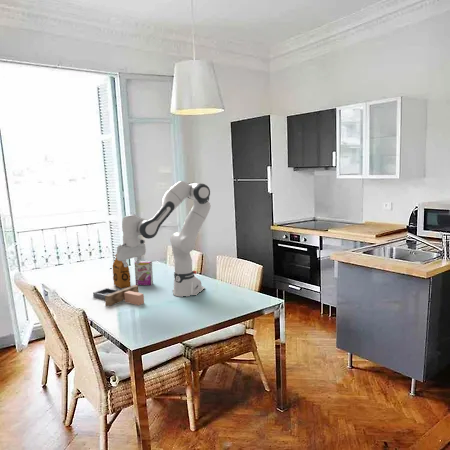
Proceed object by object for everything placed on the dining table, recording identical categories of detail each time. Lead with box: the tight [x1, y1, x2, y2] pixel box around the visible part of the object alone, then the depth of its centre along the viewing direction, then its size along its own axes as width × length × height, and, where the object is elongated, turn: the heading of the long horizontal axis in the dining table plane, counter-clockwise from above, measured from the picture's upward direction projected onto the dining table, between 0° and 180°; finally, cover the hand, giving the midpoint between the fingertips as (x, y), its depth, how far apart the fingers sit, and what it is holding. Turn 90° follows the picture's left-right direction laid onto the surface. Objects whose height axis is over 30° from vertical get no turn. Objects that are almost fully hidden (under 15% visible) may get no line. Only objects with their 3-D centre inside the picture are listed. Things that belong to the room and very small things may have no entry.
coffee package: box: [112, 253, 132, 290], centre depth 265 cm, size 10×12×22 cm
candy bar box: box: [134, 260, 154, 286], centre depth 268 cm, size 11×5×16 cm, turn 84°
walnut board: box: [104, 284, 140, 307], centre depth 238 cm, size 24×3×6 cm, turn 147°
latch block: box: [124, 291, 145, 306], centre depth 232 cm, size 4×12×6 cm, turn 57°
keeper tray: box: [92, 287, 119, 301], centre depth 245 cm, size 11×17×3 cm, turn 57°
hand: (132, 265), depth 230 cm, fingers open, 8 cm apart
